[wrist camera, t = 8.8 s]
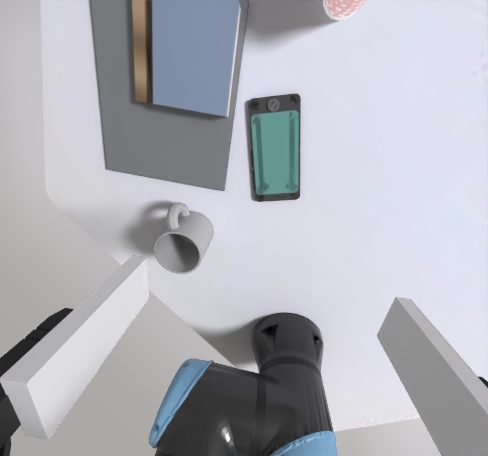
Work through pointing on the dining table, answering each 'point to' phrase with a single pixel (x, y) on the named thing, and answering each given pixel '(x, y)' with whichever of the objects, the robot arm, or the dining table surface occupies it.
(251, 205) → the dining table surface
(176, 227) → the cup
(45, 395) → the robot arm
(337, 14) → the beverage cup
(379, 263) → the dining table surface
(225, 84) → the blue-grey flat block
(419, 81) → the dining table surface
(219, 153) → the mat
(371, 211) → the dining table surface
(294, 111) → the smartphone
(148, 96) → the strip
